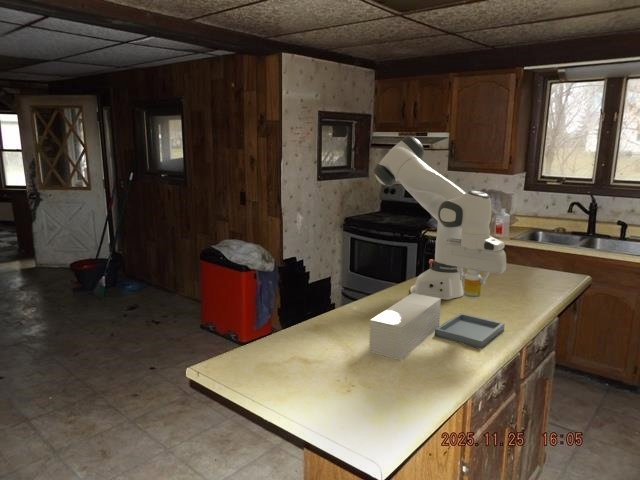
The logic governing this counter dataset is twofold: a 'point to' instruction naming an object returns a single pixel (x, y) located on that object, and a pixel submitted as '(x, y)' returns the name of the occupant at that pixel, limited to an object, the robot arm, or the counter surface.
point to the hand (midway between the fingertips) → (472, 281)
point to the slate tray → (470, 330)
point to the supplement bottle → (472, 284)
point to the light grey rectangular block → (404, 326)
